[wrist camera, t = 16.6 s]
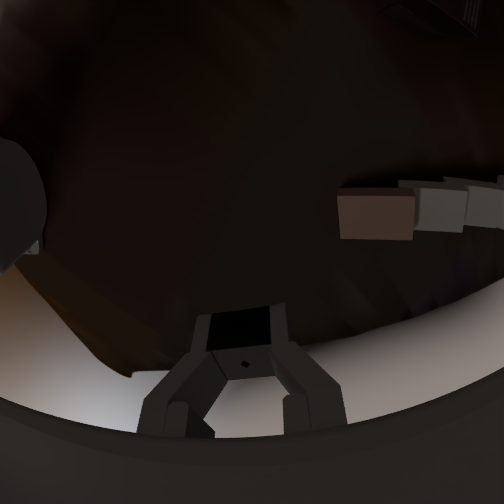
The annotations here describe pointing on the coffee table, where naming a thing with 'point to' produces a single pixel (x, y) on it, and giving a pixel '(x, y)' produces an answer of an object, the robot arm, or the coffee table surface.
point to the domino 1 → (376, 213)
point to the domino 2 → (438, 205)
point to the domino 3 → (480, 201)
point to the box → (436, 16)
